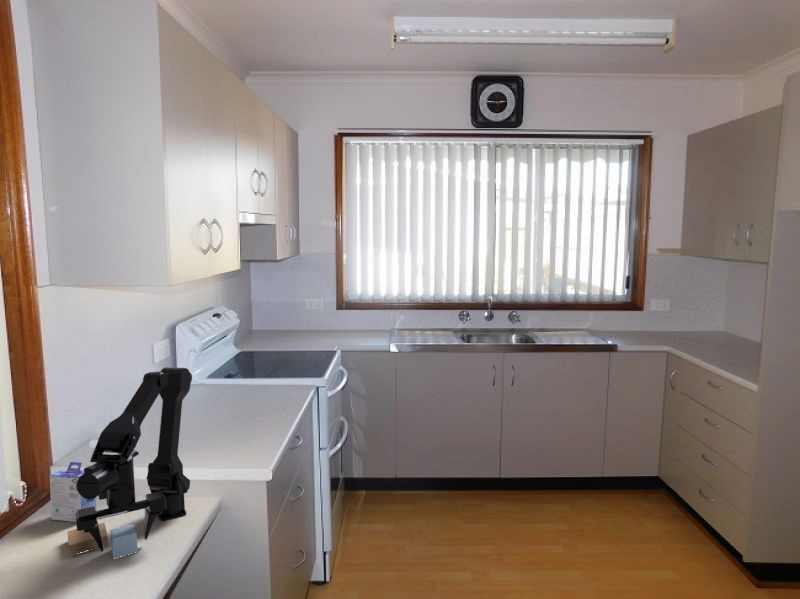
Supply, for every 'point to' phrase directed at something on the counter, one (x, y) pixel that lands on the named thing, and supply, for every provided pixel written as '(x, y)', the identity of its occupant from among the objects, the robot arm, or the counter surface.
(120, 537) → the slate cube
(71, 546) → the walnut block
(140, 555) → the counter surface
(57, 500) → the ink cartridge box
